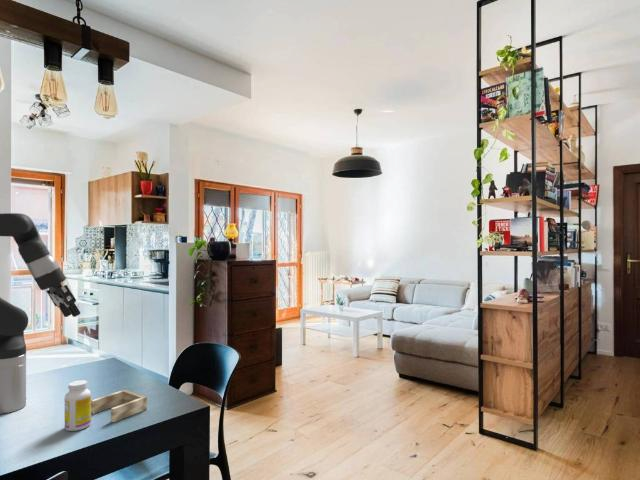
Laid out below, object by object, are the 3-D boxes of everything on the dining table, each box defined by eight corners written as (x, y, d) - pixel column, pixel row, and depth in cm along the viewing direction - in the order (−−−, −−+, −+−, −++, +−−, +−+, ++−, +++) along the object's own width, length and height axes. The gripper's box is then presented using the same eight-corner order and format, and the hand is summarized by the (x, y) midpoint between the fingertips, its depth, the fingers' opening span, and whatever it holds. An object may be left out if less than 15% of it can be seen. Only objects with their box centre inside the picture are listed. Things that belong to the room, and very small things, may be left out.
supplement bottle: (95, 421, 122) (95, 378, 122) (83, 431, 115) (83, 386, 115) (72, 421, 122) (72, 379, 122) (59, 432, 115) (59, 387, 115)
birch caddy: (113, 422, 121) (113, 409, 121) (90, 413, 128) (90, 400, 128) (146, 409, 130) (146, 397, 130) (124, 401, 137) (124, 389, 137)
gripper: (27, 279, 130) (54, 322, 133) (39, 275, 120) (68, 322, 124) (52, 268, 135) (77, 309, 139) (65, 264, 125) (91, 308, 129)
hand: (72, 315), depth 131 cm, fingers open, 8 cm apart
